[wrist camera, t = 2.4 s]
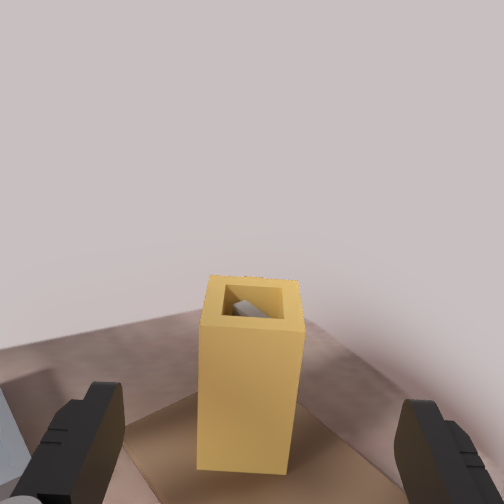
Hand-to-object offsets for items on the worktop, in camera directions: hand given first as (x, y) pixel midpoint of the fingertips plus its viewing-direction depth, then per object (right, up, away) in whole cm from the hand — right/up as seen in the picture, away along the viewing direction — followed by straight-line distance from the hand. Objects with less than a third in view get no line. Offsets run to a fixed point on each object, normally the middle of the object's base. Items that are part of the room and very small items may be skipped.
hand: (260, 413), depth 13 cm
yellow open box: (-1, -7, +16) cm, 17 cm away
